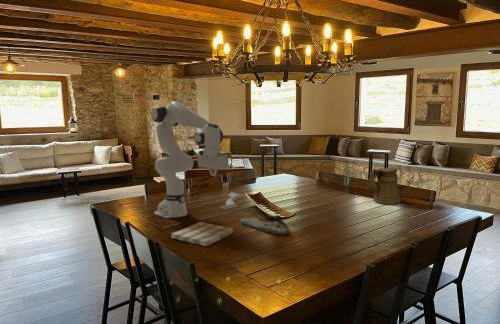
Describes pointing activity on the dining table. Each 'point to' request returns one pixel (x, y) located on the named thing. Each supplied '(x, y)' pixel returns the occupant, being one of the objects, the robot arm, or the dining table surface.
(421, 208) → the dining table surface
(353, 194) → the dining table surface
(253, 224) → the long grey stone
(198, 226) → the oak board
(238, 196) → the molding
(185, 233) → the birch plank
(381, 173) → the tankard
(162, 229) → the dining table surface
